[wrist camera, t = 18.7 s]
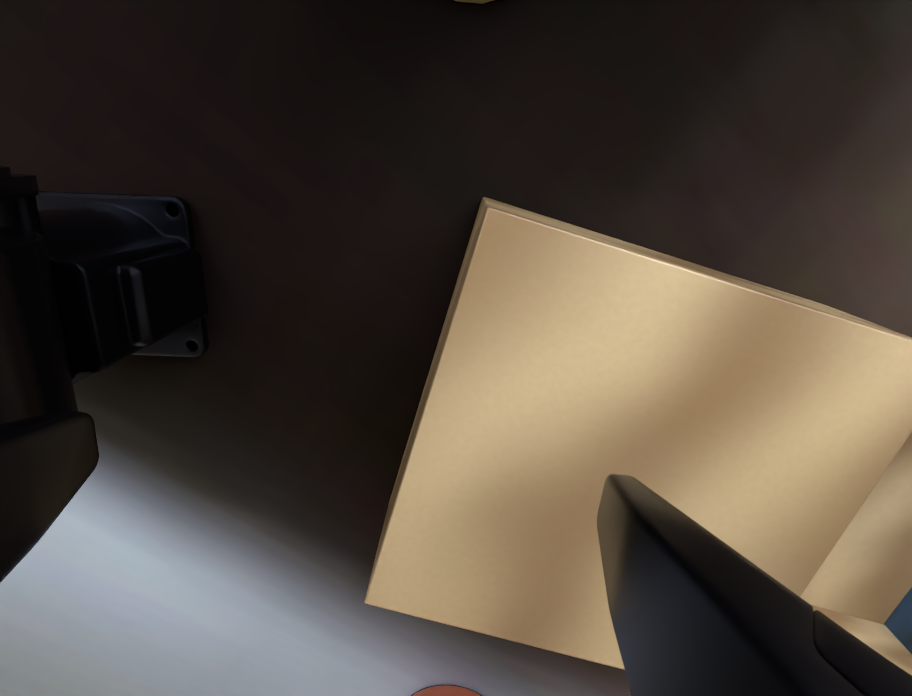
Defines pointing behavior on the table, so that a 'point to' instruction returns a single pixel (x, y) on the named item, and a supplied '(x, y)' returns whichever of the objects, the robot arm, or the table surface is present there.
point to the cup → (446, 691)
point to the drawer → (874, 568)
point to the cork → (474, 1)
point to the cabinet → (624, 428)
